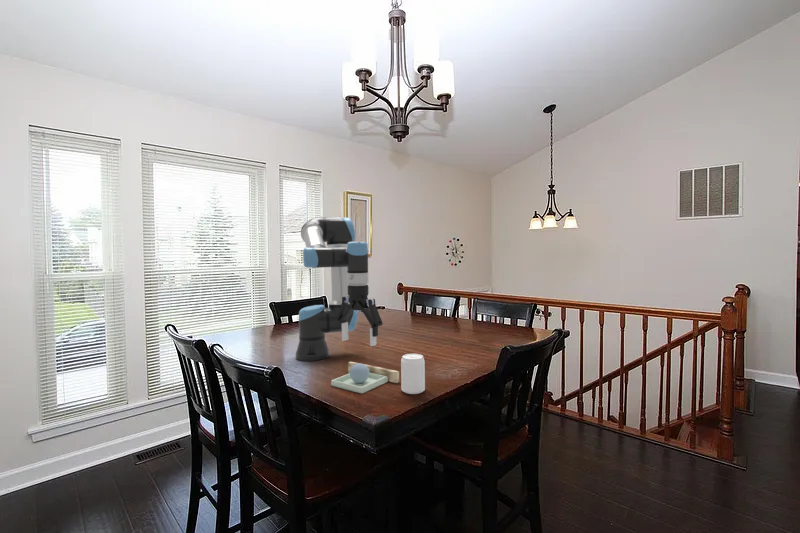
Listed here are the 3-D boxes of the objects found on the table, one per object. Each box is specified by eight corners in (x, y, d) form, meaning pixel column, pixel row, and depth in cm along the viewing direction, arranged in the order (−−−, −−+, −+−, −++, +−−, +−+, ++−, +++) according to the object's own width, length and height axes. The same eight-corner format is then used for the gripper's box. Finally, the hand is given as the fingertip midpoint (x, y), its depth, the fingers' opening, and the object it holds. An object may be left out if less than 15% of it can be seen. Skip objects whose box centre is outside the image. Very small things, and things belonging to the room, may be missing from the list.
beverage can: (400, 387, 137) (399, 353, 136) (423, 386, 137) (422, 352, 137) (402, 395, 128) (402, 360, 128) (426, 394, 129) (426, 359, 129)
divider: (348, 372, 155) (348, 362, 155) (350, 371, 156) (350, 361, 156) (396, 383, 141) (396, 372, 141) (399, 382, 142) (399, 371, 142)
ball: (346, 383, 140) (345, 364, 140) (358, 378, 146) (358, 359, 145) (360, 387, 136) (360, 367, 136) (373, 381, 142) (372, 362, 141)
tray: (331, 385, 139) (331, 380, 139) (358, 375, 151) (358, 369, 151) (361, 393, 131) (361, 388, 131) (387, 381, 143) (387, 376, 142)
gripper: (326, 283, 144) (327, 340, 145) (378, 287, 129) (379, 350, 130) (340, 281, 150) (341, 336, 151) (391, 285, 135) (392, 345, 136)
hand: (358, 342), depth 141 cm, fingers open, 13 cm apart
